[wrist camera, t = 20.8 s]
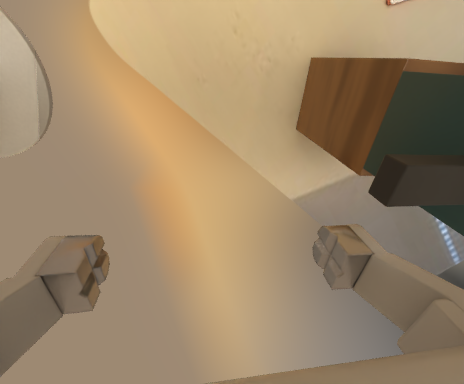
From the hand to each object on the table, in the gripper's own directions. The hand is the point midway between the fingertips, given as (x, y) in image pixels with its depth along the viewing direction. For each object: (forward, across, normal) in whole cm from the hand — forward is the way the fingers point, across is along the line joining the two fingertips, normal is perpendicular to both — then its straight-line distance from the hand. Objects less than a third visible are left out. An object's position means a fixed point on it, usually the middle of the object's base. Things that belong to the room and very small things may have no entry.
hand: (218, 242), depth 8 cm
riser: (+35, +24, +1) cm, 42 cm away
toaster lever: (+3, +13, +1) cm, 14 cm away
